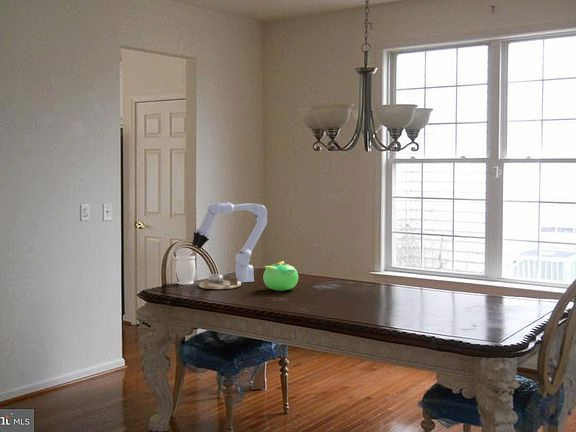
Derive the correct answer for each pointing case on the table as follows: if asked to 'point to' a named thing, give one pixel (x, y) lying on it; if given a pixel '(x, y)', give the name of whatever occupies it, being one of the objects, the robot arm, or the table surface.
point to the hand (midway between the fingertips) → (196, 246)
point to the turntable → (221, 284)
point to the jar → (185, 269)
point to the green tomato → (280, 276)
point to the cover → (215, 278)
